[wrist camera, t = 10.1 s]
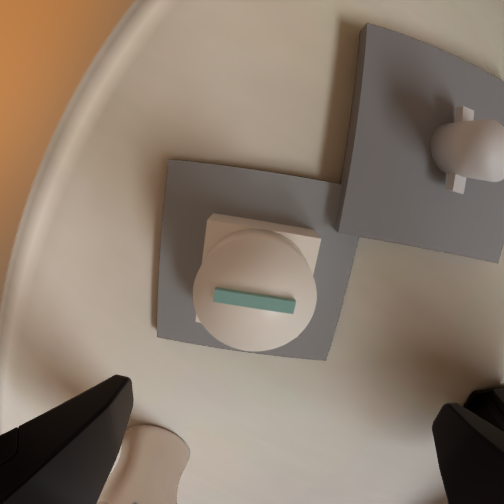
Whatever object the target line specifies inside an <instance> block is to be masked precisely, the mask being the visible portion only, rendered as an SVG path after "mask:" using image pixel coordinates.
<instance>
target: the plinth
mask: <svg viewBox="0 0 504 504" xmlns="http://www.w3.org/2000/svg"><path fill="white" fill-rule="evenodd" d="M340 184H342V185H343V187H342V192H341V198H340V203H339V209H338V214H337V219H336V224H335V230H336V231H337V232H338V233H341V234H347V235H352V236H358V237H364V238H370V239H375V240H381V241H387V242H392V243H398V244H403V245H408V246H414V247H419V248H424V249H430V250H435V251H440V252H445V253H450V254H455V255H460V256H465V257H470V258H475V259H480V260H485V261H489V262H494V263H498V262H499V259H500V255H501V251H502V248H503V244H504V81H502V80H500V79H498V78H497V77H495V76H493V75H491V74H490V73H488V72H486V71H484V70H482V69H480V68H478V67H477V66H475V65H473V64H471V63H469V62H467V61H465V60H463V59H461V58H458V57H456V56H454V55H452V54H450V53H448V52H445V51H443V50H441V49H439V48H436V47H434V46H431V45H429V44H427V43H424V42H422V41H419V40H416V39H414V38H411V37H408V36H406V35H403V34H400V33H397V32H394V31H391V30H388V29H385V28H382V27H379V26H376V25H373V24H369V23H367V24H366V25H365V26H364V28H363V29H362V30H361V31H360V38H359V49H358V59H357V69H356V78H355V87H354V95H353V103H352V111H351V118H350V125H349V132H348V139H347V146H346V152H345V158H344V165H343V171H342V177H341V182H340Z"/></svg>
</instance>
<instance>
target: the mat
mask: <svg viewBox="0 0 504 504" xmlns="http://www.w3.org/2000/svg"><path fill="white" fill-rule="evenodd" d="M342 187H343V185H342V184H337V183H332V182H327V181H322V180H316V179H311V178H305V177H299V176H293V175H287V174H281V173H275V172H268V171H262V170H255V169H248V168H241V167H234V166H226V165H218V164H210V163H201V162H192V161H183V160H173V159H169V161H168V169H167V178H166V187H165V197H164V207H163V219H162V231H161V245H160V261H159V281H158V308H157V337H160V338H165V339H170V340H175V341H180V342H186V343H192V344H197V345H203V346H209V347H215V348H222V349H228V350H235V351H242V352H250V353H257V354H265V355H273V356H282V357H292V358H301V359H312V360H324V361H326V359H327V356H328V352H329V349H330V346H331V342H332V339H333V336H334V332H335V329H336V325H337V322H338V318H339V315H340V311H341V307H342V304H343V300H344V296H345V292H346V288H347V285H348V281H349V277H350V273H351V268H352V264H353V260H354V256H355V251H356V247H357V243H358V238H359V237H358V236H352V235H347V234H341V233H338V232H337V231H336V230H335V224H336V219H337V214H338V209H339V203H340V198H341V192H342ZM213 213H216V214H222V215H229V216H235V217H241V218H247V219H253V220H260V221H266V222H272V223H277V224H283V225H289V226H295V227H301V228H306V229H312V230H315V231H316V232H317V234H318V235H319V236H320V238H321V243H320V247H319V252H318V256H317V261H316V265H315V270H314V274H313V277H314V280H315V284H316V290H317V302H316V307H315V310H314V313H313V316H312V318H311V320H310V322H309V323H308V325H307V326H306V328H305V329H304V330H303V331H302V332H301V333H300V334H299V335H298V338H297V337H296V338H295V339H293V340H292V341H290V342H289V343H287V344H285V345H283V346H280V347H278V348H275V349H271V350H266V351H244V350H239V349H236V348H233V347H230V346H228V345H226V344H223V343H222V342H220V341H219V340H217V339H216V338H214V337H213V336H212V335H211V334H210V333H209V332H208V331H207V330H206V329H205V328H204V326H203V325H202V323H199V322H196V311H195V308H194V304H193V286H194V281H195V278H196V275H197V273H198V271H199V269H200V267H201V265H202V258H203V249H204V241H205V234H206V226H207V220H208V218H209V217H210V216H211V215H212V214H213Z"/></svg>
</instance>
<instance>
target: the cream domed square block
mask: <svg viewBox="0 0 504 504" xmlns="http://www.w3.org/2000/svg"><path fill="white" fill-rule="evenodd" d="M320 243H321V238H320V236H319V235H318V234H317V232H316V231H315V230H312V229H306V228H301V227H295V226H289V225H283V224H277V223H272V222H266V221H260V220H253V219H247V218H241V217H235V216H229V215H222V214H216V213H213V214H212V215H211V216H210V217H209V218H208V220H207V226H206V234H205V241H204V249H203V258H202V265H201V267H200V269H199V271H198V273H197V275H196V278H195V281H194V286H193V304H194V308H195V311H196V322H199V323H202V325H203V326H204V328H205V329H206V330H207V331H208V332H209V333H210V334H211V335H212V336H213V337H214V338H216V339H217V340H219V341H220V342H222V343H223V344H226V345H228V346H230V347H233V348H236V349H239V350H244V351H266V350H271V349H275V348H278V347H280V346H283V345H285V344H287V343H289V342H290V341H292V340H293V339H295V338H296V337H297V338H298V335H299V334H300V333H301V332H302V331H303V330H304V329H305V328H306V326H307V325H308V323H309V322H310V320H311V318H312V316H313V313H314V310H315V307H316V302H317V290H316V284H315V280H314V277H313V274H314V270H315V265H316V261H317V256H318V252H319V247H320Z"/></svg>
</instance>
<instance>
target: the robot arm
mask: <svg viewBox="0 0 504 504" xmlns="http://www.w3.org/2000/svg"><path fill="white" fill-rule="evenodd" d="M132 408H133V391H132V381H131V379H130V378H129V377H125V376H121V375H114V376H112V377H110V378H108V379H107V380H105V381H103V382H101V383H99V384H98V385H96V386H94V387H92V388H90V389H89V390H87V391H85V392H83V393H81V394H79V395H77V396H76V397H74V398H72V399H70V400H68V401H66V402H64V403H63V404H61V405H59V406H57V407H55V408H53V409H51V410H49V411H47V412H46V413H44V414H42V415H40V416H38V417H36V418H34V419H32V420H30V421H28V422H26V423H24V424H22V425H20V426H19V428H18V427H16V428H14V429H12V430H10V431H8V432H6V433H4V434H2V435H0V504H97V501H98V499H99V497H100V494H101V492H102V490H103V488H104V485H105V483H106V481H107V478H108V476H109V474H110V471H111V469H112V467H113V465H114V462H115V460H116V458H117V455H118V453H119V450H120V447H121V444H122V440H123V437H124V434H125V430H126V427H127V424H128V421H129V417H130V414H131V411H132ZM432 431H433V436H434V441H435V447H436V452H437V458H438V463H439V468H440V473H441V476H442V480H443V484H444V488H445V491H446V495H447V499H448V503H449V504H504V387H503V388H496V389H488V390H479V391H474V392H473V393H472V394H471V395H470V397H469V399H468V400H467V402H466V404H465V405H464V407H463V406H461V405H459V404H458V403H447V404H445V405H443V407H442V408H441V410H440V412H439V414H438V415H437V417H436V419H435V420H434V422H433V425H432Z"/></svg>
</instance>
